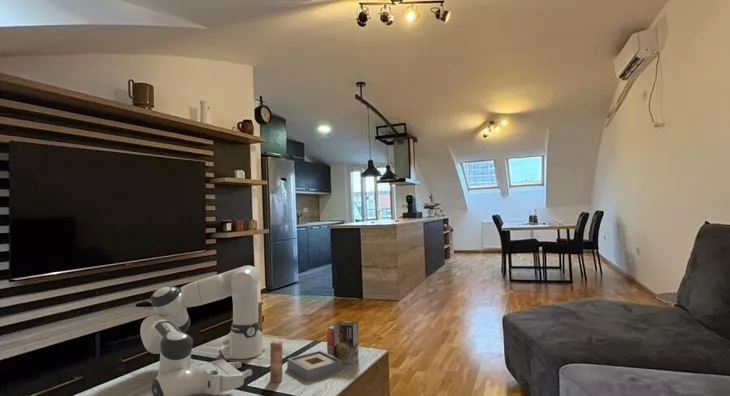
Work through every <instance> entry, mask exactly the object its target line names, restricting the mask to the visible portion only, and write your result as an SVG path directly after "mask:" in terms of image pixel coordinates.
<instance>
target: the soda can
mask: <svg viewBox="0 0 730 396" xmlns="http://www.w3.org/2000/svg"><path fill="white" fill-rule="evenodd" d="M326 351H327V352H326V353H327V354H330V355H332V356H334V324H333V325H332V324H331V325H329V326H328V329H327V331H326Z"/></svg>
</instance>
